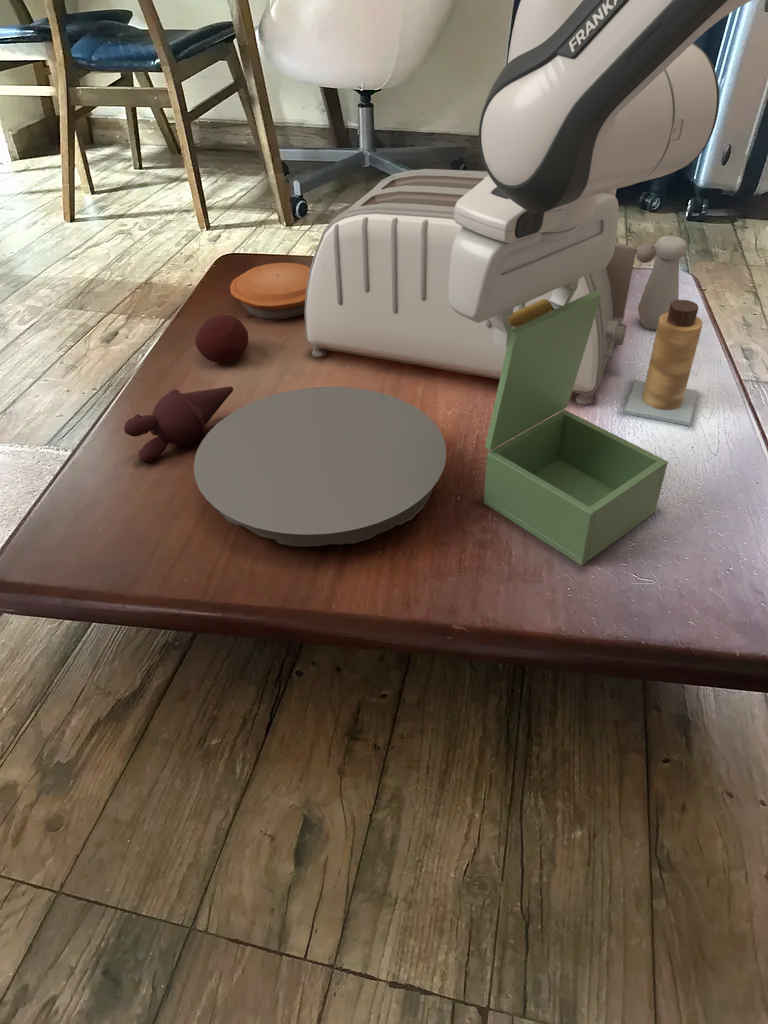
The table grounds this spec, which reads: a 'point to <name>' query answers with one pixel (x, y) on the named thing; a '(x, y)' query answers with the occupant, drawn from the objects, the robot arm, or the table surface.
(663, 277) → the salt shaker
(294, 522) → the flat disc
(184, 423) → the gnome figurine
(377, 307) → the toaster
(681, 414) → the tile
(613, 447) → the green box
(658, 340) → the pepper mill
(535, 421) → the box lid
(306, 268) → the pie
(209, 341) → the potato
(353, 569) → the table surface
